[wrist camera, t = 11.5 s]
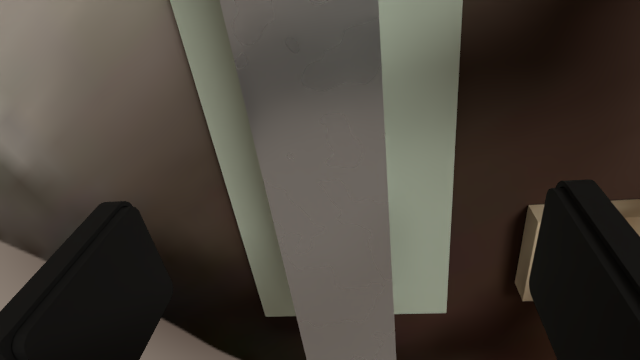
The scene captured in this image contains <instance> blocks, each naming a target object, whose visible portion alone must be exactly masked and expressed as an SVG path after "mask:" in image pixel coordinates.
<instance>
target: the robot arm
mask: <svg viewBox="0 0 640 360" xmlns="http://www.w3.org/2000/svg"><path fill="white" fill-rule="evenodd" d="M529 289H530V293H531V296H532V299H533V301H534V304H535V306H536V309H537V311H538V314H539V316H540V318H541V321H542V323H543V326H544V328H545V331H546V333H547V335H548V338H549V340H550V343H551V345H552V348H553V350H554V352H555V355H556V357H557V360H640V236H639V235H638V234H637V233H636V231H635V230H634V229H633V228H632V226H631V225H630V224H629V223H628V222H627V220H626V219H625V218H624V217H623V215H622V214H621V213H620V212H619V211H618V209H617V208H616V207H615V206H614V204H613V203H612V202H611V201H610V200H609V198H608V197H607V196H606V195H605V193H604V192H603V191H602V190H601V189H600V187H599V186H598V185H597V184H596V183H595V182H594V181H593V180H572V181H560V182H559V183H558V184H557V186H556V188H551V189H549V190H548V192H547V195H546V200H545V205H544V209H543V214H542V219H541V224H540V229H539V234H538V239H537V243H536V248H535V253H534V258H533V263H532V268H531V272H530V277H529ZM172 294H173V284H172V281H171V279H170V277H169V275H168V273H167V271H166V268H165V266H164V264H163V262H162V260H161V258H160V255H159V253H158V251H157V249H156V247H155V245H154V242H153V240H152V238H151V236H150V234H149V232H148V230H147V227H146V225H145V223H144V221H143V219H142V217H141V214H140V212H139V211H138V209H137V208H136V207H133V206H132V205H131V204H130V203H129V202H126V201H120V202H104V203H101V204H100V205H99V206H98V207H97V208H96V209H95V210H94V211H93V212H92V213H91V214H90V215H89V216H88V217H87V218H86V220H85V221H84V222H83V223H82V224H81V225H80V226H79V227H78V228H77V229H76V230H75V231H74V232H73V234H72V235H71V236H70V237H69V238H68V239H67V240H66V241H65V242H64V243H63V244H62V245H61V247H60V248H59V249H58V250H57V251H56V252H55V253H54V254H53V255H52V256H51V257H50V258H49V260H48V261H47V262H46V263H45V264H44V265H43V266H42V267H41V268H40V269H39V270H38V271H37V273H36V274H35V275H34V276H33V277H32V278H31V279H30V280H29V281H28V282H27V283H26V284H25V285H24V287H23V288H22V289H21V290H20V291H19V292H18V293H17V294H16V295H15V296H14V297H13V298H12V300H11V301H10V302H9V303H8V304H7V305H6V306H5V307H4V308H3V309H2V310H1V311H0V360H139V359H140V357H141V355H142V353H143V351H144V350H145V348H146V346H147V344H148V342H149V340H150V338H151V336H152V334H153V332H154V330H155V328H156V326H157V324H158V322H159V321H160V319H161V317H162V315H163V313H164V311H165V309H166V307H167V305H168V303H169V301H170V299H171V297H172Z"/></svg>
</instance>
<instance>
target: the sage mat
mask: <svg viewBox="0 0 640 360" xmlns="http://www.w3.org/2000/svg"><path fill="white" fill-rule="evenodd" d="M170 2H171V5H172V9H173V12H174V15H175V19H176V22H177V25H178V29H179V32H180V35H181V38H182V42H183V45H184V48H185V52H186V55H187V58H188V62H189V65H190V68H191V72H192V75H193V78H194V81H195V85H196V88H197V91H198V95H199V98H200V101H201V105H202V108H203V111H204V114H205V118H206V121H207V124H208V128H209V131H210V134H211V138H212V141H213V144H214V148H215V151H216V154H217V157H218V161H219V164H220V167H221V171H222V174H223V177H224V181H225V184H226V187H227V190H228V194H229V197H230V200H231V204H232V207H233V210H234V214H235V217H236V220H237V224H238V227H239V230H240V233H241V237H242V240H243V243H244V247H245V250H246V253H247V257H248V260H249V263H250V266H251V270H252V273H253V276H254V280H255V283H256V286H257V290H258V293H259V296H260V300H261V303H262V306H263V309H264V313H265V316H266V317H276V316H296V313H295V309H294V305H293V301H292V297H291V293H290V288H289V284H288V280H287V276H286V272H285V268H284V264H283V260H282V256H281V251H280V247H279V243H278V239H277V235H276V231H275V227H274V223H273V218H272V214H271V210H270V206H269V202H268V198H267V194H266V190H265V185H264V181H263V177H262V173H261V169H260V165H259V161H258V157H257V153H256V148H255V144H254V140H253V136H252V132H251V128H250V124H249V120H248V115H247V111H246V107H245V103H244V99H243V95H242V91H241V87H240V82H239V78H238V74H237V70H236V66H235V62H234V58H233V54H232V49H231V45H230V41H229V37H228V33H227V29H226V25H225V21H224V17H223V12H222V8H221V4H220V0H170ZM378 3H379V23H380V43H381V63H382V83H383V104H384V124H385V144H386V164H387V184H388V204H389V224H390V244H391V264H392V284H393V304H394V314H420V313H446V308H447V289H448V270H449V251H450V232H451V213H452V194H453V175H454V156H455V137H456V118H457V100H458V81H459V62H460V43H461V24H462V5H463V0H378Z"/></svg>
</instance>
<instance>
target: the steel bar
mask: <svg viewBox="0 0 640 360" xmlns="http://www.w3.org/2000/svg"><path fill="white" fill-rule="evenodd" d="M220 4H221V8H222V12H223V17H224V21H225V25H226V29H227V33H228V37H229V41H230V45H231V49H232V54H233V58H234V62H235V66H236V70H237V74H238V78H239V82H240V87H241V91H242V95H243V99H244V103H245V107H246V111H247V115H248V120H249V124H250V128H251V132H252V136H253V140H254V144H255V148H256V153H257V157H258V161H259V165H260V169H261V173H262V177H263V181H264V185H265V190H266V194H267V198H268V202H269V206H270V210H271V214H272V218H273V223H274V227H275V231H276V235H277V239H278V243H279V247H280V251H281V256H282V260H283V264H284V268H285V272H286V276H287V280H288V284H289V288H290V293H291V297H292V301H293V305H294V309H295V313H296V317H297V321H298V326H299V330H300V334H301V338H302V342H303V346H304V350H305V354H306V359H307V360H396V344H395V324H394V304H393V284H392V264H391V244H390V224H389V204H388V184H387V164H386V144H385V124H384V104H383V83H382V63H381V43H380V23H379V3H378V0H220Z"/></svg>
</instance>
